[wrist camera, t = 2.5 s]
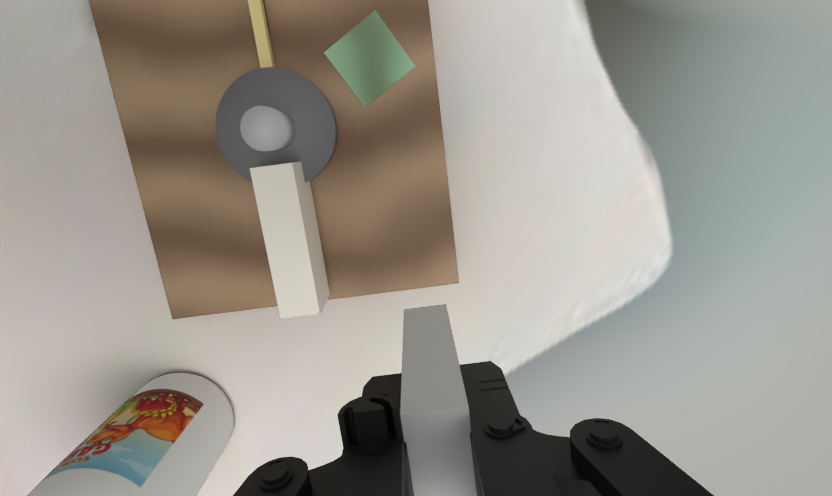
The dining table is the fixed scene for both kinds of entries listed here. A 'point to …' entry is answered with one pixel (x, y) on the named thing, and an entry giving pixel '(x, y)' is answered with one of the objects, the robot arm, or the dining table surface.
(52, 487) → the milk bottle
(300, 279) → the tuning dial
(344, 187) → the board
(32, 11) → the dining table surface
